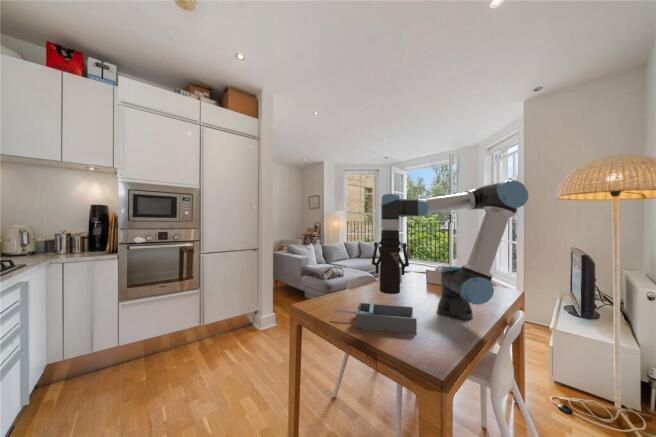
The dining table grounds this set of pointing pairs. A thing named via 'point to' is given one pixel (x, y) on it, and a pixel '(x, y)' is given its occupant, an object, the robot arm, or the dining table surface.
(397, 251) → the container
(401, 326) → the grey shallow rectangular box
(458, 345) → the dining table surface
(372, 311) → the pusher
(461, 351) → the dining table surface
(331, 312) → the dining table surface
